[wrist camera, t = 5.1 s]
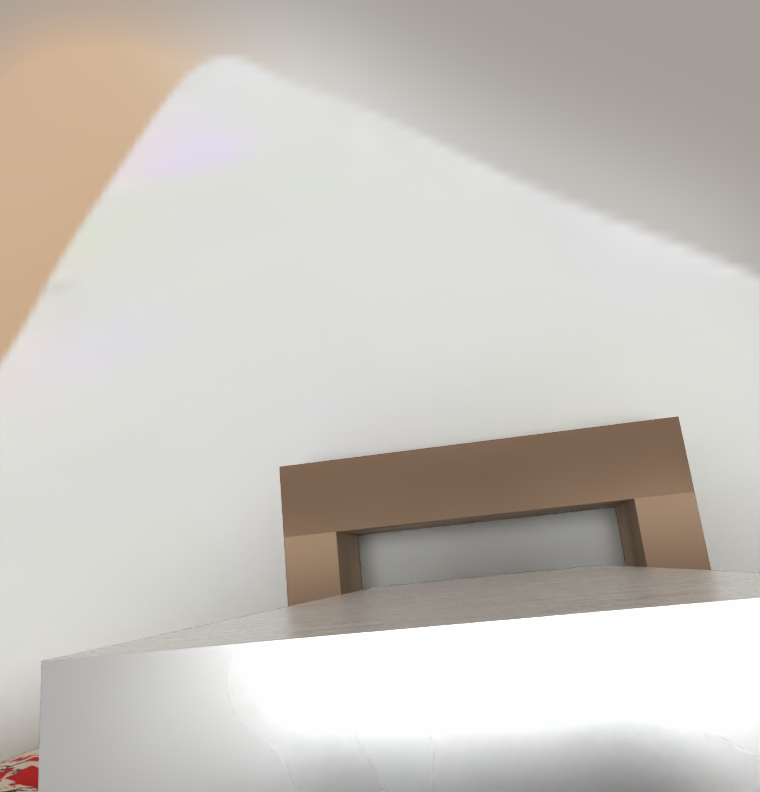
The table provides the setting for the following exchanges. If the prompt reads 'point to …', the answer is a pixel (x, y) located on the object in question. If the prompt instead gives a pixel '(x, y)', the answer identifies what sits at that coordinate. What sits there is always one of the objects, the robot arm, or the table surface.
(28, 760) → the teacup with lid
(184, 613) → the table surface
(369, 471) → the brown wooden rectangular frame
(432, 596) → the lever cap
